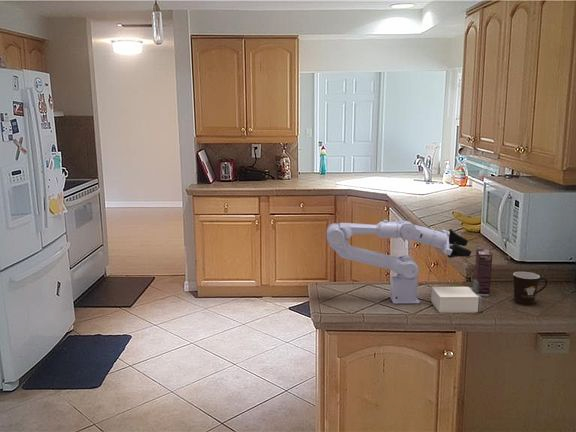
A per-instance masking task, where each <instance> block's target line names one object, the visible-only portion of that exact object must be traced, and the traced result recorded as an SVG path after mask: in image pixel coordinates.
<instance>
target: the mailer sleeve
mask: <svg viewBox="0 0 576 432" xmlns="http://www.w3.org/2000/svg"><path fill="white" fill-rule="evenodd" d="M469 287H470V286H431V293H430V294H431V296H430V297H431V299H430V302H431V303H432V305H433V306H434V308H435V309H436V310H437V311H438V313H441V314H442V313H447V314H449V313H450V314H451V313H452V314H453V313H454V314H455V313H456V314H457V313H458V314H459V313H464V314H465V313H479V311H478V301H479V297H478V296H477V295H476V294H475V293H474V292H473V291H472V290H471V289H470V288H469Z"/></svg>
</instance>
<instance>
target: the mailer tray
mask: <svg viewBox="0 0 576 432" xmlns="http://www.w3.org/2000/svg"><path fill="white" fill-rule="evenodd" d="M468 287H469V288H470V289H471V290H472V291H473V292H474V293H475V294H476V295H477V296H478V297H479V301H478V313H480V312H481V313H482V301H483V296H480V295H479V294H478V292H479V282H477V281H476V280H475V279H472V287H470V286H468Z"/></svg>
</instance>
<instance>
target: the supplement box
mask: <svg viewBox="0 0 576 432" xmlns="http://www.w3.org/2000/svg"><path fill="white" fill-rule="evenodd" d="M492 264H493V254H492V252H491V251H490V250H489V249H483V248H482V249H481V248H480V249H479V248H476V251H475V267H474V277H473V278H474V279H475V280H476V281H477V282H479V292H478V294H479V295H480V296H481V297H490V292H491V291H490V289H491V278H492V266H493V265H492Z"/></svg>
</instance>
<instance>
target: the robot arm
mask: <svg viewBox="0 0 576 432" xmlns="http://www.w3.org/2000/svg"><path fill="white" fill-rule="evenodd" d="M353 235H377V236H378V237H379V238H380V239H382V238H384V239H386V238H387V239H400V238H401V239H404V241H415V242H416V243H420V244H423V245H427V246H429V247H433V248H438V249H440V250H441V251H442V252H443V253H444V255H447V257H448V258H450V259H452V258H458V257H460V258H461V257H462V258H463V257H467V258H469V257H470V256H471V254H472V251H471V250H470V249H468V248H465V247H467V244H468V242H469V240H468V239H466V238H464V237H463V236H460V235H459V234H458V233H456V232H455V231H454V230H453V229H451V228H450V229H448V230H446V229H441V231H438V230H435V229H432V228H430V227H429V228H428V227H425V226H423V225H421V226H420V225H417V224H413V223H412V222H411V221H408V220H397V221H388V219H383V221H379V222H378V223H376V224H367V223H366V224H365V223H354V222H353V223H352V222H340V223H338V222H333V223H330V224H329V225H328V226H327V227H326V241H327V242H328V246H329V247H330V248H332V249H333V251H335V252H336V254H337V255H338V256H339V257H340V258H342V259H345V260H349V261H353V262H358V263H362V264H365V265H371V266H373V267H378V268H383V269H386V270H389V271H392V272H394V273H396V274H397V275H394V276H391V277H390V284H389V298H390V300H391V301H392V303H393V304H421V302H420V299H418V282H419V280H418V279H419V272H420V269H419V266H418V264H417V263H416V262H415V259H414V258H413V257H412V256H411V255H408V254H405V255H392V254H386V253H382V252H379V251H374V250H369V249H365V248H362V247H357V246H354V245H350V243H349V241H348V240H349V239H350V238H351V237H353Z"/></svg>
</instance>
